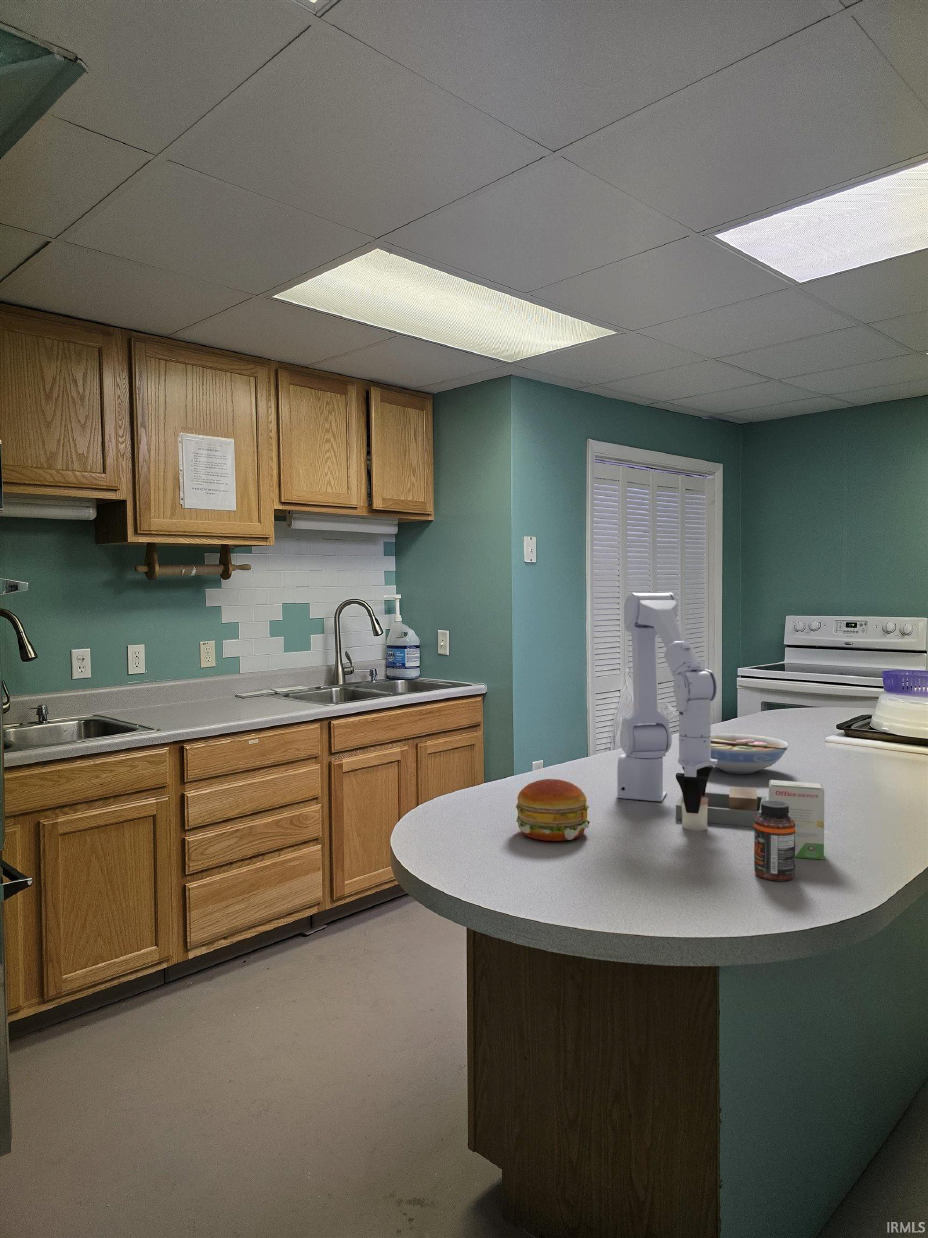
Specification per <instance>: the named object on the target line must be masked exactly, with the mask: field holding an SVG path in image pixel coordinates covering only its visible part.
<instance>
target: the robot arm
mask: <svg viewBox="0 0 928 1238" xmlns="http://www.w3.org/2000/svg"><path fill="white" fill-rule="evenodd" d="M678 606H679V605H678V600H677V597H676V596H675V594H674V593H673V592H660V593H659V592H658V593H656V592H655V593H650V592H649V593H648V592H647V593H645V592H644V593H639V592H638V593H637V592H630V593H629V594H628V595H627V596H626V598H625V600H624V605H623V617H624V619H623V620H624V621H623V622H624V623H623V624H624V631H626V632H628V633H630V634H631V652H632V653H631V654H632V655H631V656H632V657H631V659H632V661H631V662H632V688H633V689H632V691H633V709H632V710H631V711H630V712H628V714H626V715H625V716H624V717H623V718H622V719H621V727H620V733H619V743H620V744H619V745H620V747H621V750H622V751H623V753H624V754H623V753H621V754H619V756H618V760H617V771H616V774H617V775H616V776H617V777H616V779H617V782H616V783H617V785H616V787H617V794H616V798H617V799H626V800H637V801H639V800H640V801H650V802H663V800H664V799H665V797H666V796H667V793H668V792H667V791H665V790H664V789H663V788H664V787H663V782H664V780H663V779H664V777H663V773H664V772H663V771H664V770H663V769H664V765H663V764H664V762H663V761H664V759H663V758H664V757H667V755H666V754H667V753H668V752H669V751H670V749H671V746H672V742H673V741H672V732H671V730H670V722H669V718H668V717H667V716H666V715H664V714H663V713H661V712H660V711H658V694H657V693H658V690H657V689H658V688H657V661H656V660H657V659H656V657H657V656H656V636H657V635H658V637H659V638H660V640H661V642H662V643H663V645H664V646H665V647H664V648H665V650H664V654H663V655H664V656H663V657H664V659H665V662H666V664H667V666H668V668H669V671H670V673H671V675H672V677H673V679H674V680H673V685H672V689H673V694H674V695H673V696H674V697H675V707H676V710H677V711H678V758H677V763H678V764H679V765H680V766H681V769H682V770H683V772H676V774H675V779H676V781H677V783H678V785H679V787H680V790H681V795H682V794H683V799H684V804H685V809H686V812H687V813H695V814H698V812H699V809H700V804H701V797H702V796H704V797H705V792H707V791H706V790H707V784H708V781H709V777H710V774H711V773H712V771H713V768H714V765H716V764H717V759H711V734H712V731H711V730H712V729H711V728H712V723H711V722H712V721H711V720H712V719H711V718H712V713H711V712H712V709H711V708H712V707H711V706H712V705H711V703H712V702H713V701H714V700H715V699H716V696H717V693H718V685H717V679H716V676H715V674H714V672H713V671H712V670H711V669H708V668H707V667H706V666H703V665H702V663H701V661H700V660H699V659H700V658H699V657H698V655H697V653H696V651H695V649H694V647H693V645H692V644H691V643H690V642H689V641H688V642H687V641H684V639H683V636H682V632H681V629H680V626H679V624H678V621H677V617H678V611H679V607H678Z"/></svg>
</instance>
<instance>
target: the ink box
mask: <svg viewBox="0 0 928 1238" xmlns="http://www.w3.org/2000/svg"><path fill="white" fill-rule="evenodd" d="M768 781H769V782H768V800H775V801H782V802H785V803H787V804H788V805H789V813H788V816H790V817H791V818H792V819H793V820H794V821H795V858H799V859H813V860H825V859H824V858H825V857H824V856H825V788H824V785H823V784H822V783H815V782H806V781H805V782H804V781H802V782H801V781H790V780H778V779H777V780H776V779H769V780H768Z"/></svg>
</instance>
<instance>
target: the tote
mask: <svg viewBox="0 0 928 1238" xmlns="http://www.w3.org/2000/svg"><path fill="white" fill-rule="evenodd" d="M729 794H730V793H723V792H714V791H713V792H711V791H705V797H707V798H708V820H707V823H708V824H709V823H710V824H721V825H729V826H730V825H733V826H743V827H752V828H754V821H755V818H756V816H758V815H759V814H761V802H763V801H767V797H766V796H762V795H757V811H750V810H739V809H729ZM682 796H683V794H682V793H681V795H680V797H679V799H678V800H677V802H676V804H675V820H676V821H677V820H679V821H682V801H681V797H682Z"/></svg>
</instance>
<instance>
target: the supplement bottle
mask: <svg viewBox="0 0 928 1238" xmlns="http://www.w3.org/2000/svg"><path fill="white" fill-rule="evenodd" d="M788 813H789V805H788V804H787V803H785V802H782V801H775V800H769V799H768V800H766V801H763V802H761V814H759V815H758V816H756V818H755V821H754V827H753V828H754V829H753V830H754V832H753V833H754V834H753V835H754V836H753V837H754V838H753V839H754V841H753V842H754V844H753V845H754V846H753V849H754V850H753V853H754V855H753V857H754V858H753V862H754V863H753V864H754V867H753V869H754V873H755V874H756V876H758V877H759V878H762V879H764V880H768V881H775V882H786V881H790V880H792V879H794V878H795V875H796V857H795V821H794V820H793V819H792V818H791V817H790V816H788Z"/></svg>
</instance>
